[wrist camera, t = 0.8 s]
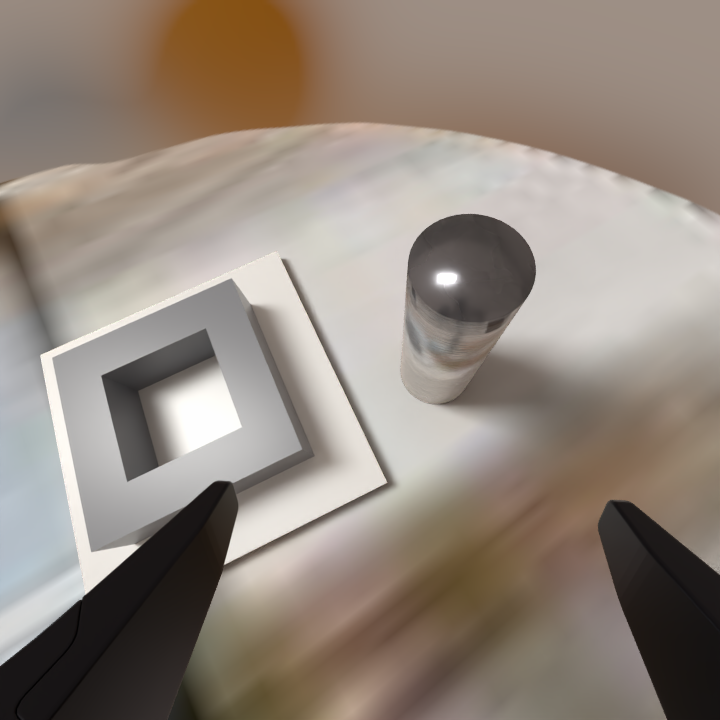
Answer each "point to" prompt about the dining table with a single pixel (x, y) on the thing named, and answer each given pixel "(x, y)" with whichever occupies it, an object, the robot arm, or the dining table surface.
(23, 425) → the dining table surface
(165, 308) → the mount
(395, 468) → the dining table surface
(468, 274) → the grey cylindrical piece
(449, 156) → the dining table surface
